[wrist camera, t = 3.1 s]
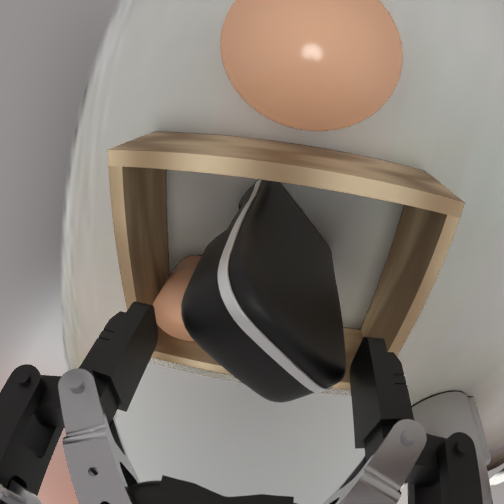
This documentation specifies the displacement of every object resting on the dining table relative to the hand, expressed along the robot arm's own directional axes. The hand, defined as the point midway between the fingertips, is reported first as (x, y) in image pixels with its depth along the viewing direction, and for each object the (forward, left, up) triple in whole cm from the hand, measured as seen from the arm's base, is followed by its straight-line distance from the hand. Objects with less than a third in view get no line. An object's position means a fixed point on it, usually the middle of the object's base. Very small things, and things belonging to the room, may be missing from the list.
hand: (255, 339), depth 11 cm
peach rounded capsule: (+5, +5, -10) cm, 12 cm away
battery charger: (0, 0, -10) cm, 10 cm away
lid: (0, +11, +3) cm, 11 cm away
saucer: (-1, -11, -10) cm, 15 cm away
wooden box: (0, +2, -10) cm, 10 cm away
